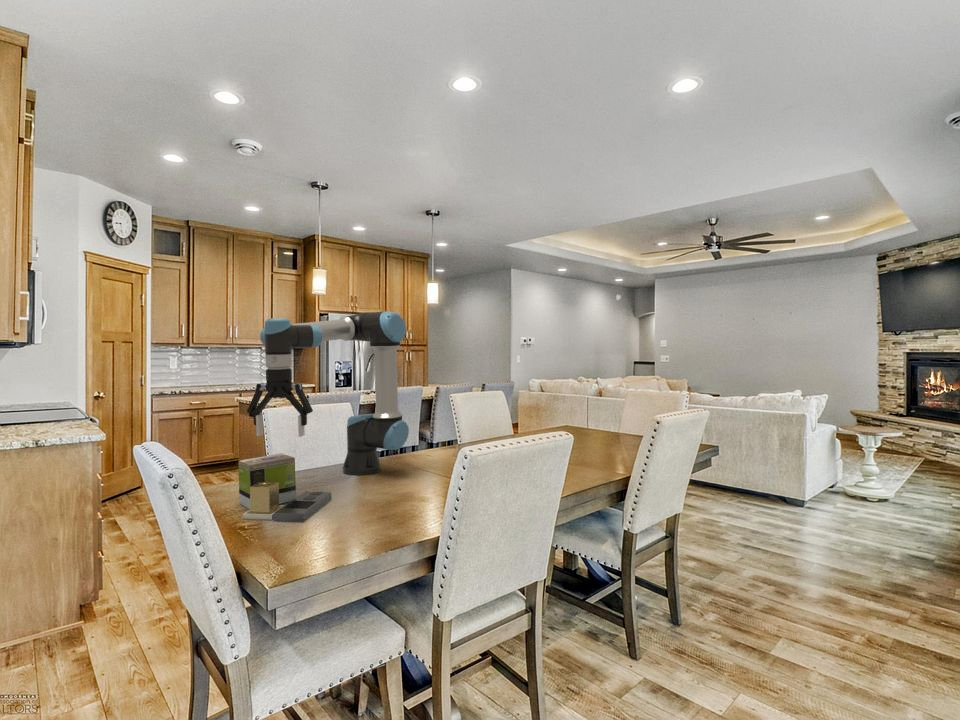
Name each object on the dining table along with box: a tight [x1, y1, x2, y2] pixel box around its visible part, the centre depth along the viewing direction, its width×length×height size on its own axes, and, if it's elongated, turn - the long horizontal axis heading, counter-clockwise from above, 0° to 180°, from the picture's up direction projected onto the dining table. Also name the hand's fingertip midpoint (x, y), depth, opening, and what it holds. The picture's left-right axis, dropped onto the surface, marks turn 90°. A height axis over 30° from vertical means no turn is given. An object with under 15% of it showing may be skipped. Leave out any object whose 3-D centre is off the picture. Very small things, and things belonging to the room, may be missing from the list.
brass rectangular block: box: [249, 481, 280, 514], centre depth 159 cm, size 6×6×10 cm
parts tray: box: [242, 504, 285, 521], centre depth 159 cm, size 9×9×2 cm
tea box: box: [238, 452, 297, 510], centre depth 171 cm, size 15×10×15 cm
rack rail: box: [273, 490, 333, 523], centre depth 164 cm, size 22×9×3 cm, turn 175°
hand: (280, 435), depth 163 cm, fingers open, 13 cm apart
